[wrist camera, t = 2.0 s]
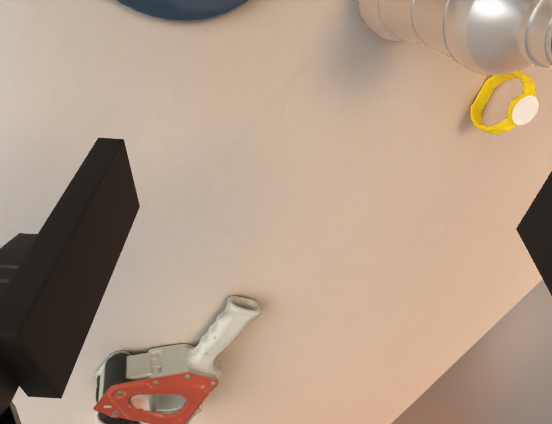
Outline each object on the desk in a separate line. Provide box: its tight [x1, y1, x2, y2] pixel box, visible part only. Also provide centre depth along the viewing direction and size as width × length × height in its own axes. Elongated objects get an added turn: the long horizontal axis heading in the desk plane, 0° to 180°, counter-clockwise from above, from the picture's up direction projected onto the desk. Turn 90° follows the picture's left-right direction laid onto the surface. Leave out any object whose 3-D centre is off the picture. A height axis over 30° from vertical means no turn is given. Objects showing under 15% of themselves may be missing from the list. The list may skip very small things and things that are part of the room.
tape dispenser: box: [93, 296, 262, 424], centre depth 50 cm, size 18×5×20 cm
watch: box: [470, 71, 539, 134], centre depth 41 cm, size 6×3×6 cm, turn 155°
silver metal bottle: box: [358, 0, 552, 75], centre depth 28 cm, size 6×7×20 cm
